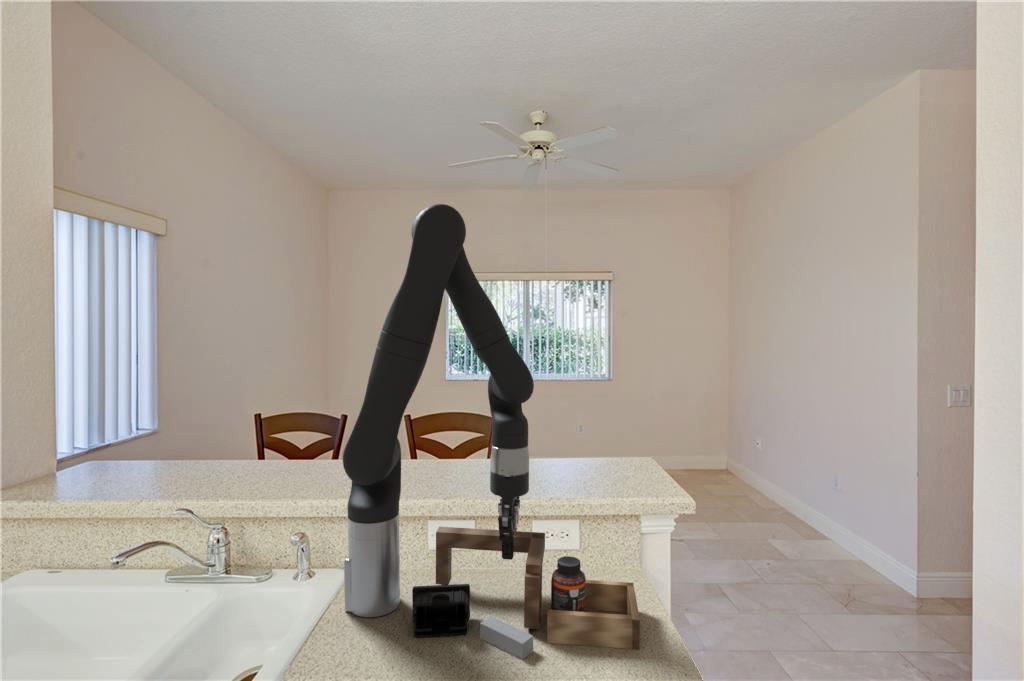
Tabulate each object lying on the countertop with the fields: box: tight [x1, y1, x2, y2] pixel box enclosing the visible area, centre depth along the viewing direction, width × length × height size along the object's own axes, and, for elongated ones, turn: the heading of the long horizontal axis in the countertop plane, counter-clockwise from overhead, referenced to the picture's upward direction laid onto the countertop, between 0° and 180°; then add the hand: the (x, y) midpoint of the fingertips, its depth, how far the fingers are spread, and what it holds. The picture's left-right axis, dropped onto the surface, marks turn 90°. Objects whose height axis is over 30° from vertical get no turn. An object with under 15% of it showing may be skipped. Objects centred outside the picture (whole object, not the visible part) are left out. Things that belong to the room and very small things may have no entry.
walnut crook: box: [435, 526, 546, 630], centre depth 105 cm, size 21×15×10 cm
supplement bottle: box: [550, 555, 587, 612], centre depth 100 cm, size 6×6×11 cm
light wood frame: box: [546, 578, 641, 650], centre depth 99 cm, size 15×12×5 cm
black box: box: [411, 583, 471, 640], centre depth 99 cm, size 10×7×7 cm
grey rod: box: [479, 616, 534, 660], centre depth 94 cm, size 9×3×3 cm, turn 51°
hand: (508, 554), depth 111 cm, fingers closed on walnut crook, 2 cm apart
